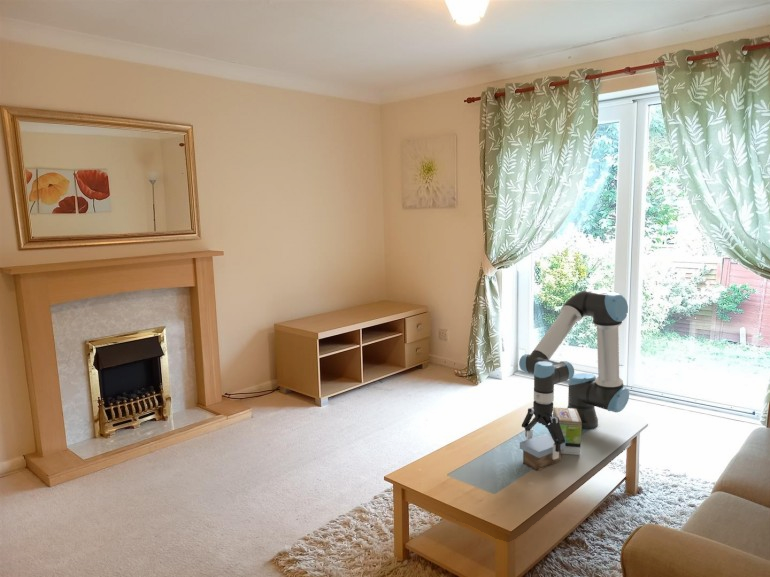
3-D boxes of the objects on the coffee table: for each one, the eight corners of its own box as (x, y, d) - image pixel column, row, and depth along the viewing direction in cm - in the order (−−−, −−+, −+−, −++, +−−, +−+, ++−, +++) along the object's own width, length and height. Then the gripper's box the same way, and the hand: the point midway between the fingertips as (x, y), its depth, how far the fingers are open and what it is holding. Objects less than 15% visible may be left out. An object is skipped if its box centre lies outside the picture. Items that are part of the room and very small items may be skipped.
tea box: (581, 455, 217) (582, 421, 215) (555, 453, 219) (556, 420, 217) (575, 439, 231) (576, 407, 229) (551, 438, 233) (552, 406, 231)
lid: (545, 440, 219) (545, 433, 219) (565, 449, 211) (565, 442, 210) (519, 450, 212) (519, 442, 211) (538, 459, 203) (538, 451, 203)
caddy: (547, 454, 218) (547, 440, 218) (560, 460, 213) (561, 446, 212) (523, 463, 211) (523, 449, 210) (536, 470, 205) (536, 456, 204)
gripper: (513, 393, 217) (512, 442, 220) (562, 413, 196) (560, 466, 199) (526, 390, 220) (525, 438, 224) (575, 408, 199) (574, 461, 203)
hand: (542, 451), depth 211 cm, fingers open, 13 cm apart
